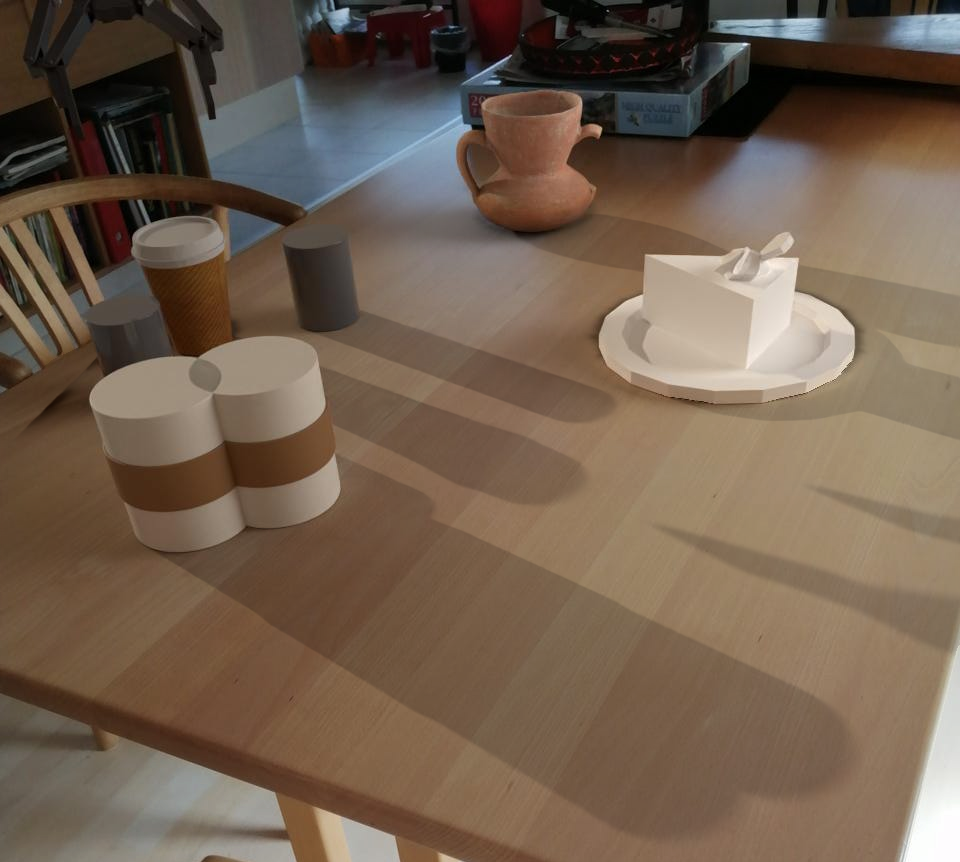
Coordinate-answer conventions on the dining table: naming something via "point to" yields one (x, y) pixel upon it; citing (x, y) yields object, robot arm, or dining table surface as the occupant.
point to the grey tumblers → (314, 284)
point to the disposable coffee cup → (187, 280)
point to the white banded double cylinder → (219, 441)
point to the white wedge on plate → (726, 329)
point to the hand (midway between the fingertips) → (146, 123)
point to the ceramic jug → (530, 160)
